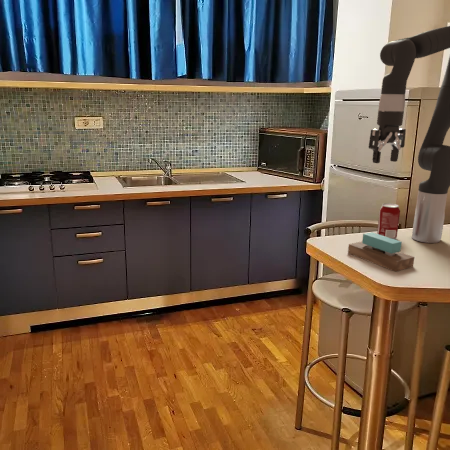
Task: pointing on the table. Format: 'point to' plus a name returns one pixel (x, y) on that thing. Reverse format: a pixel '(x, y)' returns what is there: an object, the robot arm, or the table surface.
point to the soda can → (388, 220)
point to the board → (381, 257)
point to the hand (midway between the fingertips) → (384, 162)
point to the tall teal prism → (382, 243)
